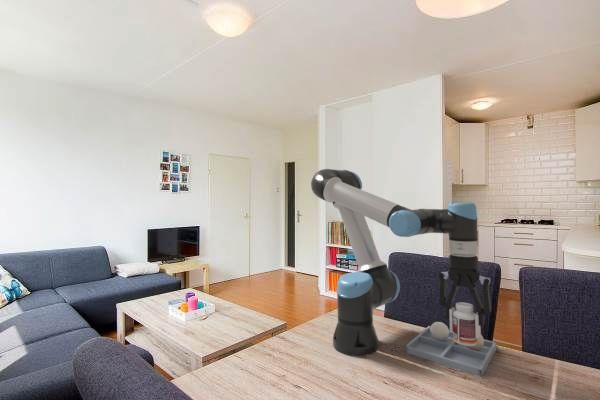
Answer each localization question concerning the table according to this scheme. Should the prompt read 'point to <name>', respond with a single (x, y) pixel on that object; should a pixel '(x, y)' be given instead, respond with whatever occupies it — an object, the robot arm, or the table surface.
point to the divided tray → (451, 352)
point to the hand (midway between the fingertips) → (464, 332)
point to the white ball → (439, 331)
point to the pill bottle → (464, 324)
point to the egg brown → (479, 344)
